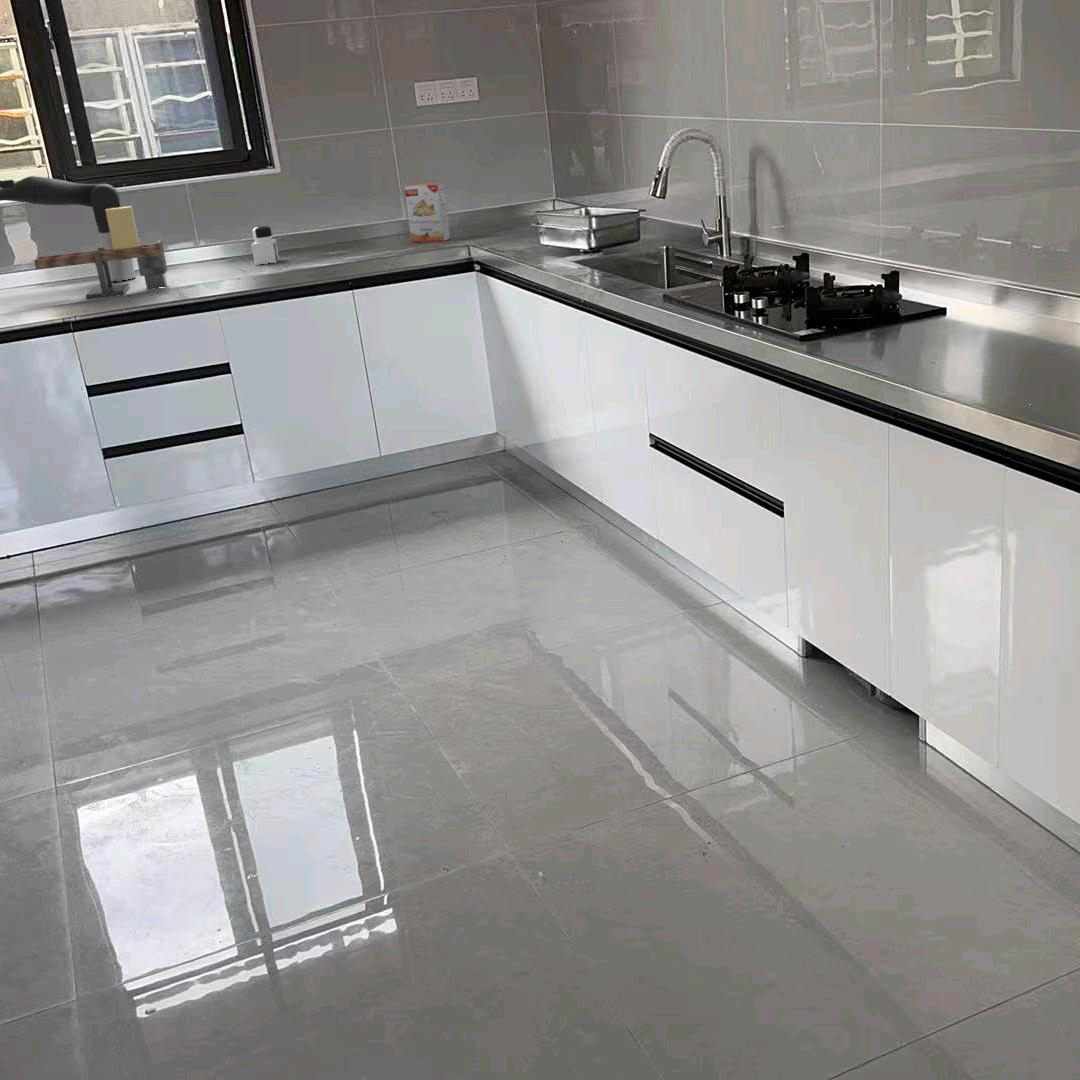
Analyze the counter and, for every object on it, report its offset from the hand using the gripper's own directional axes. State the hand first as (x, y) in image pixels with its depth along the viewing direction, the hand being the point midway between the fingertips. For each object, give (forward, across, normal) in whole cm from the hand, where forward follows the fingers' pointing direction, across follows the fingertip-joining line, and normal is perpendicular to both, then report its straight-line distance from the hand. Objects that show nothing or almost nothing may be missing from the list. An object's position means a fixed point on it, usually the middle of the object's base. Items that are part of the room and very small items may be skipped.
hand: (14, 183), depth 392 cm
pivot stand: (+29, +2, -38) cm, 48 cm away
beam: (+22, +2, -33) cm, 40 cm away
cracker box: (+135, -36, -38) cm, 145 cm away
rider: (+31, +2, -25) cm, 40 cm away
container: (+74, -29, -38) cm, 88 cm away
